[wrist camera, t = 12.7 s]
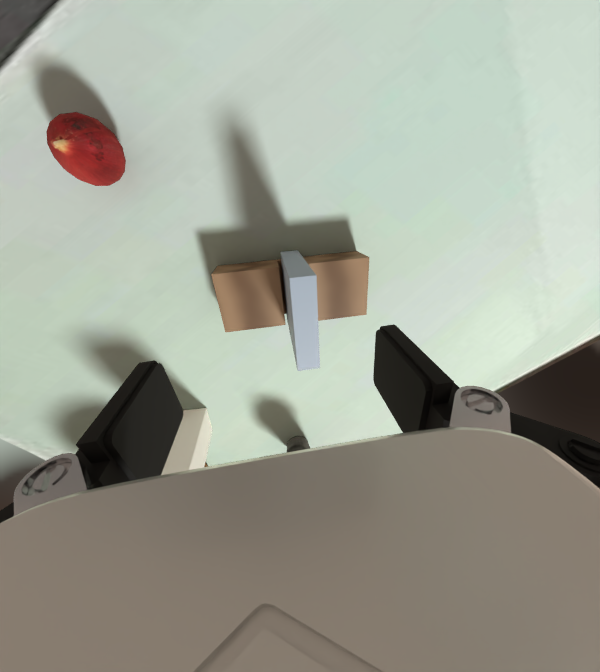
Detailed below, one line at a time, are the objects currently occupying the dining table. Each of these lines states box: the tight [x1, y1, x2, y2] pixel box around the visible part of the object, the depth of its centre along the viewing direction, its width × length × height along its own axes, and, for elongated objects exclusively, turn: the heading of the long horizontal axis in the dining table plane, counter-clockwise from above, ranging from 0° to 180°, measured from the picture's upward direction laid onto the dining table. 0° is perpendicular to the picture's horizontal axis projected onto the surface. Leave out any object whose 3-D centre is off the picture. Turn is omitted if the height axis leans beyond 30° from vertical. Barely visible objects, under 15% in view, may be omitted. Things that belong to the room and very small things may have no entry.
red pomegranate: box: [47, 112, 126, 186], centre depth 24 cm, size 6×6×8 cm
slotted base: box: [211, 251, 369, 332], centre depth 35 cm, size 20×8×5 cm, turn 94°
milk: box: [161, 408, 213, 475], centre depth 38 cm, size 6×6×22 cm
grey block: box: [280, 250, 320, 371], centre depth 30 cm, size 2×10×14 cm, turn 4°
